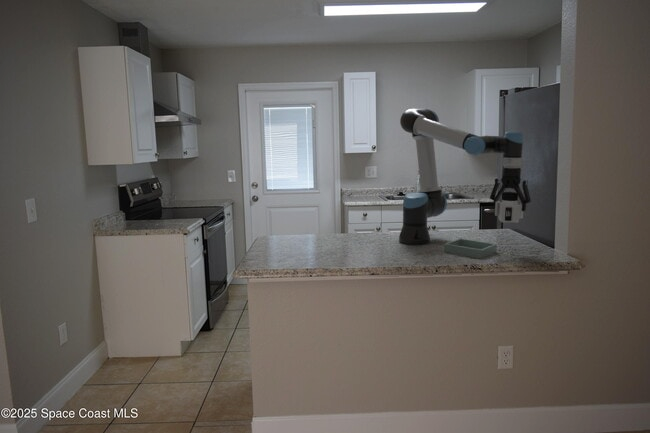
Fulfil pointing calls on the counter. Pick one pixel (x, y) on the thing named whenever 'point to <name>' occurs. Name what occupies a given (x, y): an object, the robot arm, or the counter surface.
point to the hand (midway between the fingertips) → (508, 216)
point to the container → (509, 208)
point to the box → (470, 248)
